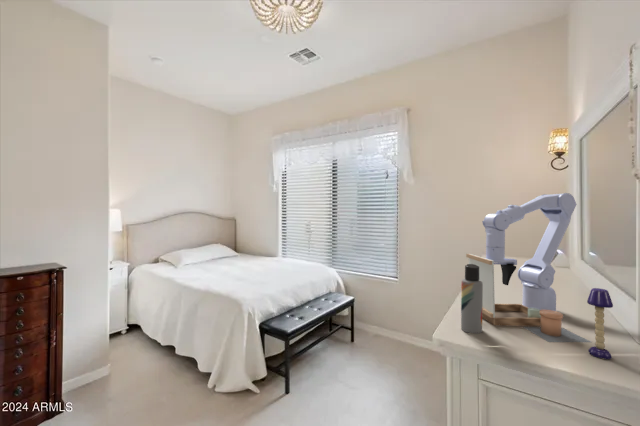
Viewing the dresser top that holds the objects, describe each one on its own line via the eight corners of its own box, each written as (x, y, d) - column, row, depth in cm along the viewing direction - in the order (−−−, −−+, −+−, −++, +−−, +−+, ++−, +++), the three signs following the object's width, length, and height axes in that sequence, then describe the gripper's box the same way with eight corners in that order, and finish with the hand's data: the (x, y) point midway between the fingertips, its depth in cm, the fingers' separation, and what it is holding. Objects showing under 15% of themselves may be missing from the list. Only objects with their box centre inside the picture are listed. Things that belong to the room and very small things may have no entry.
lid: (469, 253, 102) (466, 253, 102) (493, 260, 88) (489, 260, 88) (470, 302, 102) (467, 303, 102) (494, 317, 88) (490, 317, 88)
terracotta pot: (543, 327, 87) (543, 308, 87) (565, 334, 82) (565, 313, 82) (536, 331, 84) (536, 311, 84) (559, 338, 79) (559, 317, 79)
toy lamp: (581, 350, 74) (582, 286, 73) (597, 349, 74) (598, 286, 74) (601, 360, 69) (602, 292, 69) (618, 359, 69) (619, 291, 69)
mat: (560, 328, 87) (560, 327, 87) (592, 343, 77) (592, 342, 77) (522, 328, 87) (522, 326, 87) (548, 343, 77) (548, 341, 77)
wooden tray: (520, 311, 102) (520, 303, 102) (551, 326, 88) (552, 318, 88) (470, 310, 102) (470, 303, 102) (494, 326, 88) (494, 318, 88)
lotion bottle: (479, 328, 87) (480, 263, 87) (484, 335, 82) (484, 267, 82) (459, 325, 89) (460, 262, 89) (462, 332, 84) (463, 265, 83)
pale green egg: (535, 319, 93) (535, 307, 93) (544, 324, 90) (544, 311, 90) (524, 319, 93) (525, 307, 93) (533, 324, 90) (533, 311, 89)
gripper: (508, 245, 105) (507, 281, 105) (469, 245, 105) (468, 281, 105) (521, 248, 98) (521, 286, 98) (480, 247, 98) (479, 286, 98)
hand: (494, 284), depth 101 cm, fingers open, 7 cm apart
